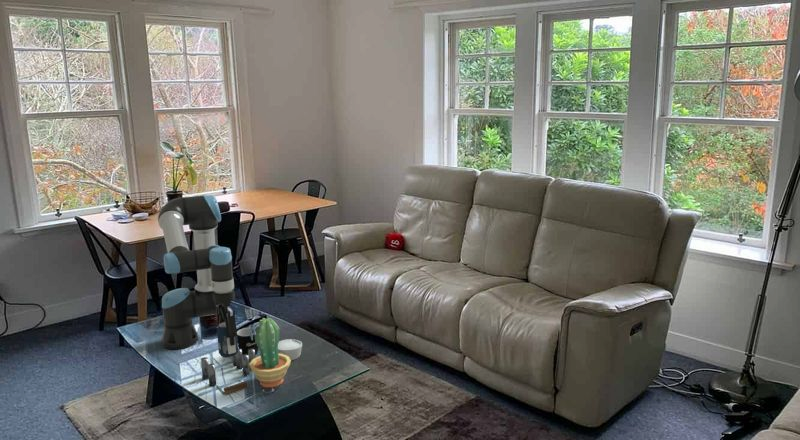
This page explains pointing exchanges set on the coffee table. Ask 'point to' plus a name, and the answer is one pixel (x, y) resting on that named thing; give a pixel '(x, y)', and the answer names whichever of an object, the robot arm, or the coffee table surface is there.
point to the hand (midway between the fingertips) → (228, 349)
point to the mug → (246, 341)
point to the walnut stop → (235, 388)
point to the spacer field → (238, 361)
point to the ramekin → (290, 348)
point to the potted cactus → (268, 354)
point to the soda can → (224, 341)
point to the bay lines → (219, 389)
